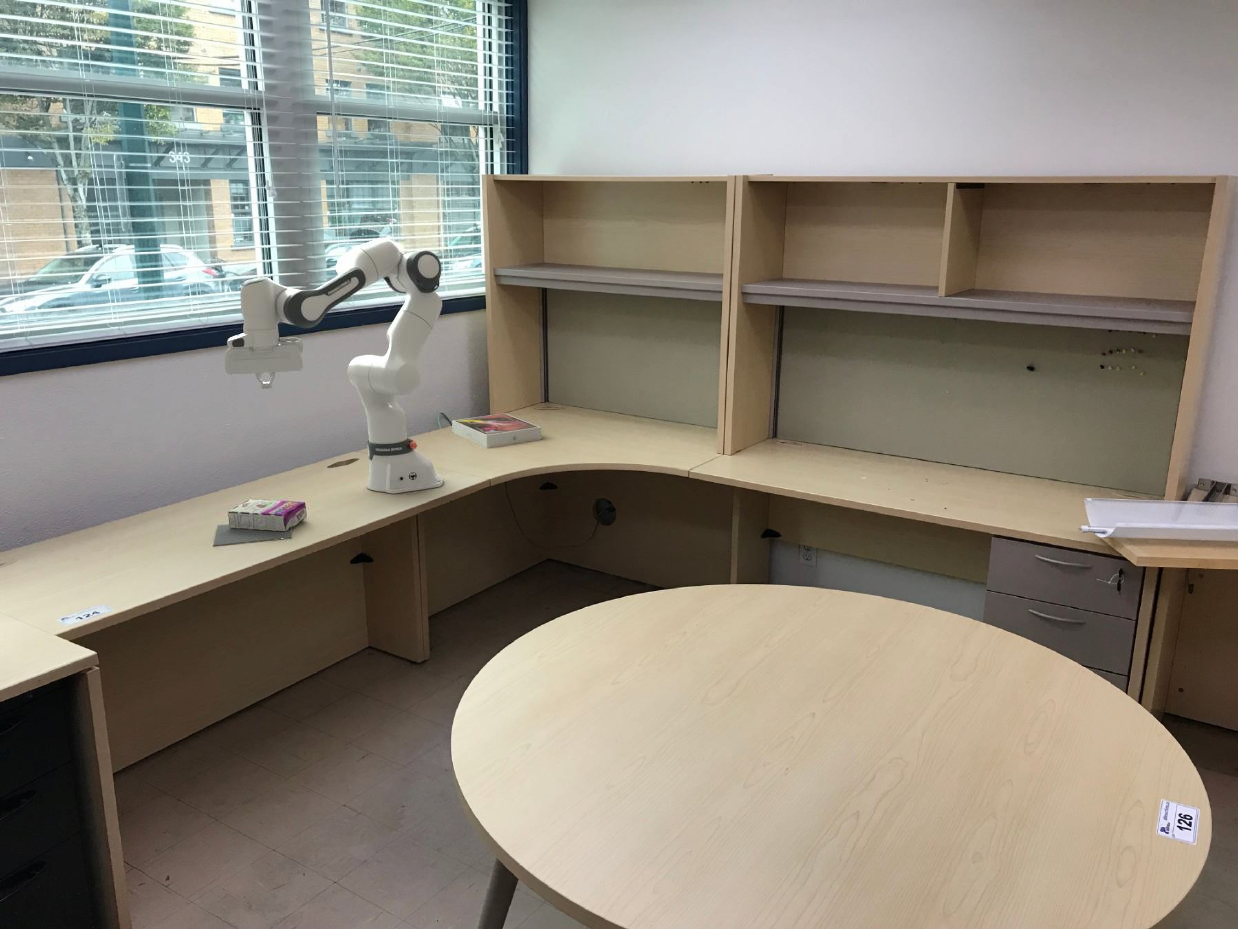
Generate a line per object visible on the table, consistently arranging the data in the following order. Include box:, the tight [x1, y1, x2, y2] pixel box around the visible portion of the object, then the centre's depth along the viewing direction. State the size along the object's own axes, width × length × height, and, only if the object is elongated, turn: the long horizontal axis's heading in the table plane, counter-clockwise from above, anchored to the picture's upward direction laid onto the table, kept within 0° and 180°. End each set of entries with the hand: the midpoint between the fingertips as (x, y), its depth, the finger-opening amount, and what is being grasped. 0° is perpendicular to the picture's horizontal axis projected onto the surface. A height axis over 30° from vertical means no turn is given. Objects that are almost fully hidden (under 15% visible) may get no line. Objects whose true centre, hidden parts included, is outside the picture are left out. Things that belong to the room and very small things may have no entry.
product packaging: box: [451, 412, 543, 449], centre depth 352 cm, size 22×28×5 cm
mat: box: [212, 523, 292, 547], centre depth 252 cm, size 18×16×1 cm
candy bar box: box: [227, 498, 308, 532], centre depth 257 cm, size 11×5×16 cm
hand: (267, 388), depth 267 cm, fingers closed
